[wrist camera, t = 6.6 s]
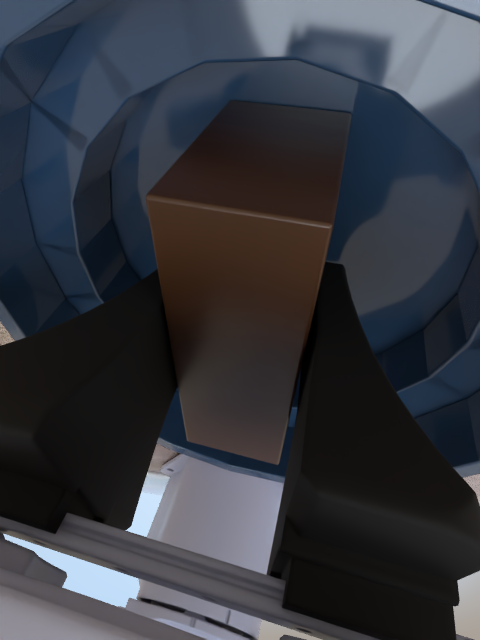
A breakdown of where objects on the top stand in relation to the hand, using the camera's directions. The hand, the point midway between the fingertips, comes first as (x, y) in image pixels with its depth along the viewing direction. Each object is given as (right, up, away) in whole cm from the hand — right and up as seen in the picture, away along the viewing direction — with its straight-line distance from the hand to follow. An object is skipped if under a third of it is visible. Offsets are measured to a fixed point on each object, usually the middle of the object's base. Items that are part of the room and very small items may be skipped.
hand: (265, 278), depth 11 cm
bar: (0, +1, +1) cm, 1 cm away
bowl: (+1, +1, +2) cm, 2 cm away
